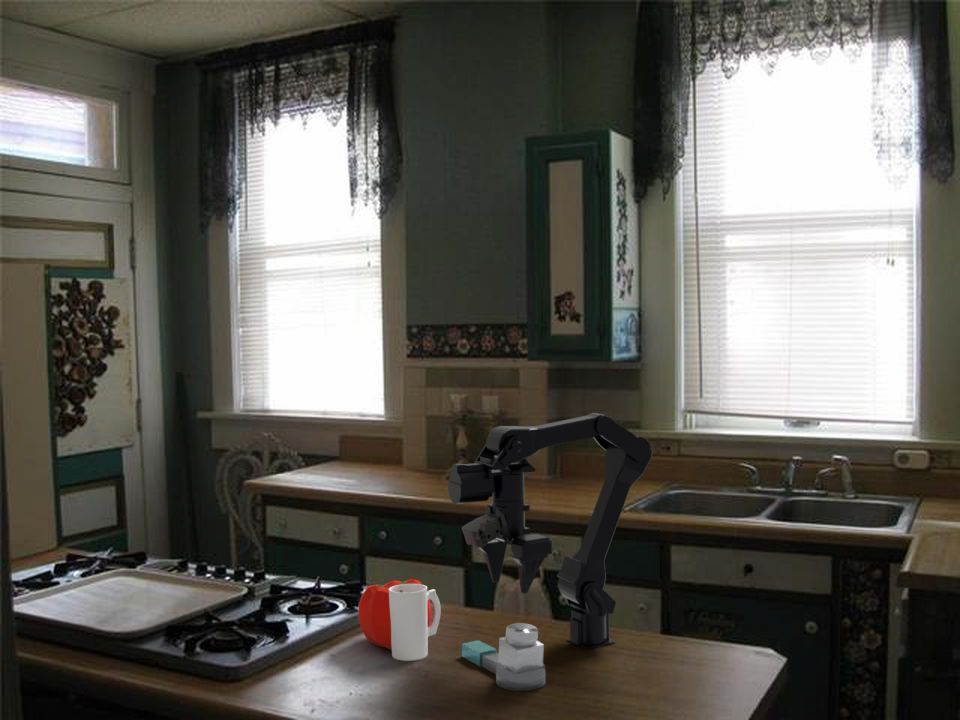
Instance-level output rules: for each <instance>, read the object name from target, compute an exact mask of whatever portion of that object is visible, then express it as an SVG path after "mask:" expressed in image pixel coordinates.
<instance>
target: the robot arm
mask: <svg viewBox="0 0 960 720" xmlns="http://www.w3.org/2000/svg"><path fill="white" fill-rule="evenodd" d="M592 438H593V439H594V441H595V442H596V443H597V444H598V446H600V447H601V448H602V449H603V450H604V451H605V456H604V461H603V462H604V471H605V472H604V474H605V478H604V481H603V485H602V486H601V490H600V492H599V494H598V497H597V501H596V503H595V506H594V509H593V512H592V514H591V517H590V520H589V522H588V525H587V529H586V531H585V534H584V536H583V539H582V541H581V545H580V546H579V547H580V548H579V550H578V551H576V553H575V554H574V555H573V556H572V557H570V556H567V555H564V557H563V561H562V564H561V568H560V570H559V572H558V573H557V574H556V577H557V578H558V581H557V588H558V590H559V593H560V594H561V596H562V597H563V598H565V601H566V603H567V605H568V606H569V607H573V609H571V618H570V620H569V635H570V636H569V637H567V638H566V641H567V642H569V643H570V644H573V645H575V646H578V647H579V648H580V647H581V648H582V649H585V650H593V649H596V648H602V647H605V646H611V645H614V644H616V641H615V640H614V639H612V638H610V614H611V615H612V614H613V613H614V611H615V607H616V603H617V602H616V601H615V599H613V598H612V597H611V596H610V595H609V594H608V593H607V592H606V591H605V590H604V588H605V584H606V580H607V576H606V575H607V574H606V564H605V562H606V561H605V560H606V557H607V553H608V551H609V549H610V545H611V542H612V539H613V537H614V535H615V531H616V529H617V526H618V523H619V521H620V518H621V514H622V513H623V509H624V506H625V505H626V504H625V503H626V501H627V498H628V495H629V492H630V490H631V487H632V486H633V485H634V484H635V482H636V481H638V480H639V479H640V477H642V476H643V475H644V472H645V471H646V469H647V467H648V465H649V463H650V462H651V460H652V456H653V449H652V446H651V444H650V442H649V441H648V439H645V438H644V437H642V436H637V435H636V434H635V433H633V432H631V431H629V430H628V429H626V427H625V428H624V426H621V425H620V424H618V423H617V422H616V421H614V420H613V419H612V418H611V417H610V416H608V415H607V414H603V413H595V412H592V413H589V414H587V415H584V416H582V415H581V416H578V417H574V418H569V419H565V420H564V419H563V420H559V421H554V422H549V423H544V424H541V425H534V426H531V425H530V426H521V425H520V426H519V425H500V426H499V425H498V426H496V427H493V428H492V429H491V430H490V431H489V433H488V435H487V437H486V443H485V445H484V446H483V447H482V449H481V451H480V452H479V454H478V455H477V457H476V458H475V460H474V463H465V464H464V463H453V465H452V472H451V473H450V474H449V478H448V479H449V480H448V481H447V492H448V495H449V498H450V501H451V502H452V504H453V505H461V504H469V503H470V504H471V503H482V502H487V501H488V500H489V498H491V503H490V504H489V503H488V504H486V505H487V506H486V507H485V514H484V515H481V516H478V517H476V518H475V519H473V520H472V521H469V522H467V523H466V524H464V525H463V526H461V531H462V533H463V535H464V539H465V542H466V544H467V545H469V546H470V545H471V546H474V547H475V548H477V549H478V550H479V551H481V552H482V554H483V557H484V559H485V562H486V565H487V569H488V572H489V574H490V578H491V580H492V583H498V582H499V581H500V578H501V575H502V571H503V566H504V560H505V556H506V549H507V546H508V545H510V547H511V548H510V550H511V553H512V554H513V555H511V558H512V560H514V562H515V563H516V564H517V569H518V578H519V579H518V580H519V586H520V593H522V595H523V594H528V593H529V590H530V589H531V586H532V584H533V581H534V579H535V578H536V575H537V574H538V571H539V569H540V567H541V566H542V564H543V562H544V560H545V558H547V559H548V557H549V555H552V554H553V552H554V550H553V541H552V540H551V539H550V538H549V537H548V536H544V535H541V534H537V533H535V534H531V528H530V527H526V512H530V510H531V509H530V508H531V507H530V504H528V503H525V502H526V501H525V474H527V473H535V472H536V469H537V468H535V467H534V466H533V465H532V464H530V462H529V461H528V458H530V457H532V456H534V455H535V454H537V453H538V452H539V451H541V450H544V449H546V448H550V447H555V446H559V445H564V444H568V443H573V442H579V441H582V440H583V441H584V440H587V439H592ZM495 458H496V459H495Z"/></svg>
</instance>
